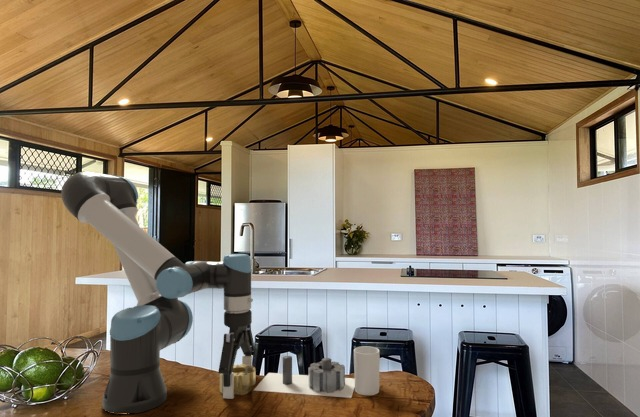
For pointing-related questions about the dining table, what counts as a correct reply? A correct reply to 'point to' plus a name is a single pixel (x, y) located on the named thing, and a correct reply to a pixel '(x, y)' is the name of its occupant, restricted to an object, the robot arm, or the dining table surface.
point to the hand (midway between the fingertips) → (238, 387)
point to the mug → (366, 370)
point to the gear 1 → (241, 379)
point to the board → (300, 381)
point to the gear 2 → (326, 377)
